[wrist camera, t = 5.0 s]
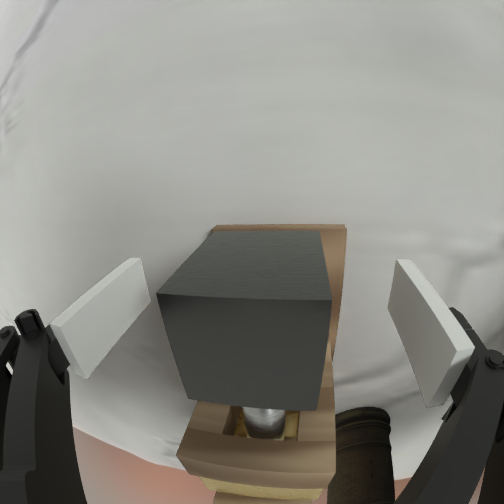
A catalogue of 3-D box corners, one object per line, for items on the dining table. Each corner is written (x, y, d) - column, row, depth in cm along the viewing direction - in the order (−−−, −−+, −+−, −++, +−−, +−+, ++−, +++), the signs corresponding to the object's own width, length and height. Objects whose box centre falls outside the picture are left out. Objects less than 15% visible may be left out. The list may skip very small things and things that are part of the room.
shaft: (214, 231, 13) (156, 293, 8) (319, 230, 12) (332, 299, 7) (248, 459, 22) (237, 506, 17) (296, 463, 21) (290, 510, 16)
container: (315, 436, 31) (305, 547, 15) (339, 403, 27) (338, 541, 11) (370, 439, 30) (375, 541, 14) (400, 406, 27) (419, 527, 10)
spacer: (225, 389, 21) (196, 473, 13) (325, 395, 19) (325, 486, 12) (230, 414, 22) (208, 489, 15) (320, 420, 21) (316, 499, 13)
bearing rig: (216, 225, 22) (99, 350, 8) (344, 224, 20) (409, 374, 6) (241, 410, 30) (212, 511, 17) (320, 414, 29) (314, 521, 15)
